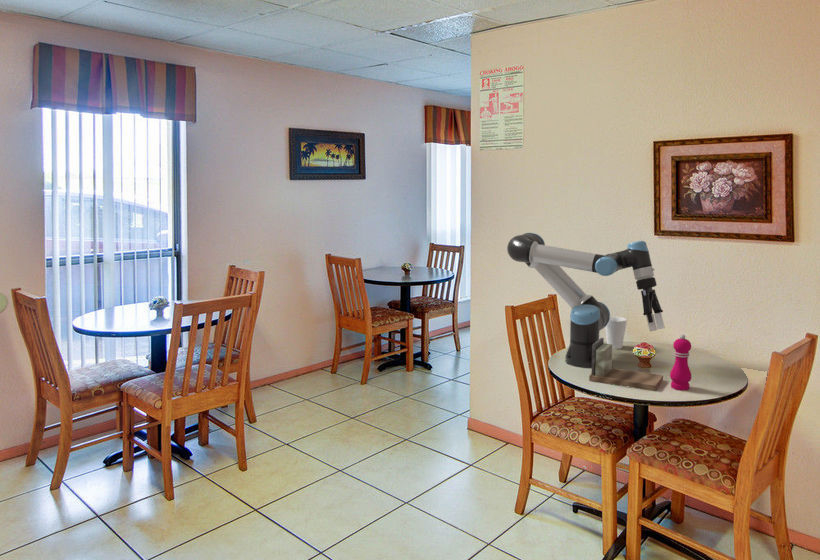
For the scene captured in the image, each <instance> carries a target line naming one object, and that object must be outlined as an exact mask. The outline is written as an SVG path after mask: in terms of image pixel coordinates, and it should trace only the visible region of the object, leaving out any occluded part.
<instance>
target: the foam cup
mask: <svg viewBox="0 0 820 560" xmlns="http://www.w3.org/2000/svg"><path fill="white" fill-rule="evenodd" d="M627 322H628V320H627V318H626V317H620V316H610V320H609V322H608V324H607V325H606V326H605V327H604V328H605V337H606V338H605V339H606V344H612V350H621V349H622V348H623V345H624V339H625V333H626V328H627V325H628V323H627Z"/></svg>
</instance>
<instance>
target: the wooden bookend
mask: <svg viewBox="0 0 820 560" xmlns="http://www.w3.org/2000/svg"><path fill="white" fill-rule="evenodd" d="M604 340H605V338H604V337H599V340H598V341H596V342H595V343H594V344H593V345H592V367H591V371H590V374H589V377H588V378H589V379H588V381H590V382H594V383H595V382H596V383H600V384H608V385H613V384H615V385H614V386H620V385H622V386H621V387H626V386H629V387H628V388H633V387H634V388H633V389H639V388H640V389H639V390H646V391H647V390H648V391H652V392H654V391H655V392H656V391H657V389H658V388H659V387H660V386H661V384H662V382H664V375H663V374H657V373H651V372H650V373H649V372H644V371H638V370H637V371H635V370H629V369H621V368H614V367H612V366H613V365H612V363H613V359H612V357H613V349H612V344H607V342H606V343H604V342H605V341H604Z"/></svg>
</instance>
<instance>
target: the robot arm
mask: <svg viewBox="0 0 820 560" xmlns="http://www.w3.org/2000/svg"><path fill="white" fill-rule="evenodd" d="M506 246H507V247H506V248H507V249H506V250H507V254H508V256H509V257H510V258H511V259H512V260H513V261H516V262H518V263H524V264H526V265H527V267H528V268H530V269H531V268H532V269H535V270H536V271H537V272H538V273H539V274H540V276H541V277H542V278H544V280H545V281H546V282H547V283H548V284H549V286H551V287H552V289H554V291H555V292H556V293H557V294H558V295H559V296H560V297H561V298H562V299H563V300H564V301H565V302H566V304H567V305H568V306H569V307H570V308H571V310H570V315H569V316H570V317H569V319H570V324H569V326H570V327H569V329H570V330H569V333H570V334H569V335H570V337H569V345H568V348H567V351H566V354H565V361H564V362H566V364H568V365H571V366H573V365H574V367H580V368H581V367H582V368H592V345H593V344H594V343H595V342H596V341H598V340H599V339H600V331H602V330H603V329H604V328H605V326H606V325H607V324H608V322H609V320H610V317H611V312H610V309H609V308H608V306H607V305H606V304H604V303H603V302H600V301H598V300H597V299H596V298H595V297H594V296H593V295H591V294H586V293H585V292H584V290H583V289H582V288H581V287H580V286H579V285H578V284H577V283H576V282H575V281H574V279H573V278H571V277H570V276H569V274H567V272H566V271H565V270H564V269H563V268H568V269H575V270H579V271H584V272H585V271H586V272H590V273H597V274H598V275H600V276H602V277H607V276H608V277H609V276H611V275H613V274H615V273H616V272H618V271H620V270H625V269H629V268H632V271H633V275H634V279H635V280H636V281H635V284H636V287H637V290H638V291H640V293H641V299H642V308H643V309H642V310H643V316H646V317H645V318H646V322H647V326H648V329H649V332H653V331H658V330H661V329H662V330H663V329H665V324H664V319H663V315H662V313H664V310H663V309H662V307H661V305H660V301H659V299H658V296H657V293H656V290H655V289H653V288H654V287H657V285H658V284H657V281H656V277H655V273H654V271H655V268H654V267H653V264H652V260H651V256H650V251H649V249H648V246H647V242H646V241H644V240H638V241H634V242H631V243H628V244H627V249H624V250H619V251H615V252H612V253H607V254H598V253H592V252H586V251H580V250H575V249H569V248H568V249H567V248H563V247H562V248H561V247H559V246H556V247H555V246H551V245H546V244H545V240H544V239H543V238H542V236H541V235H539V234H538V233H534V232H525V233H523V234H519V235H518V234H517V235H516V236H513V237H512V238H510V240H509V242H508V243H507V245H506Z"/></svg>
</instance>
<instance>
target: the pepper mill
mask: <svg viewBox="0 0 820 560" xmlns="http://www.w3.org/2000/svg"><path fill="white" fill-rule="evenodd" d="M672 345H673V347H672V348H673V349H674V356H675V360H674V361H675V362H674V364H673V366H672V368H671V370H670V374H669V378H670V379H671V382H670V388H671V389H674V390H676V391H689V390H690V386H691V385H690V383H689V382H691V380H692V372H691V369H690V367H689V364H688V363H689V362H688V360H689V357H690V351H691V349H692V343H691V341H690V340H688V339H686V335H685V334H681V335H680V336H679V338H676V339H675V341H674V342H673V344H672Z"/></svg>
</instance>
